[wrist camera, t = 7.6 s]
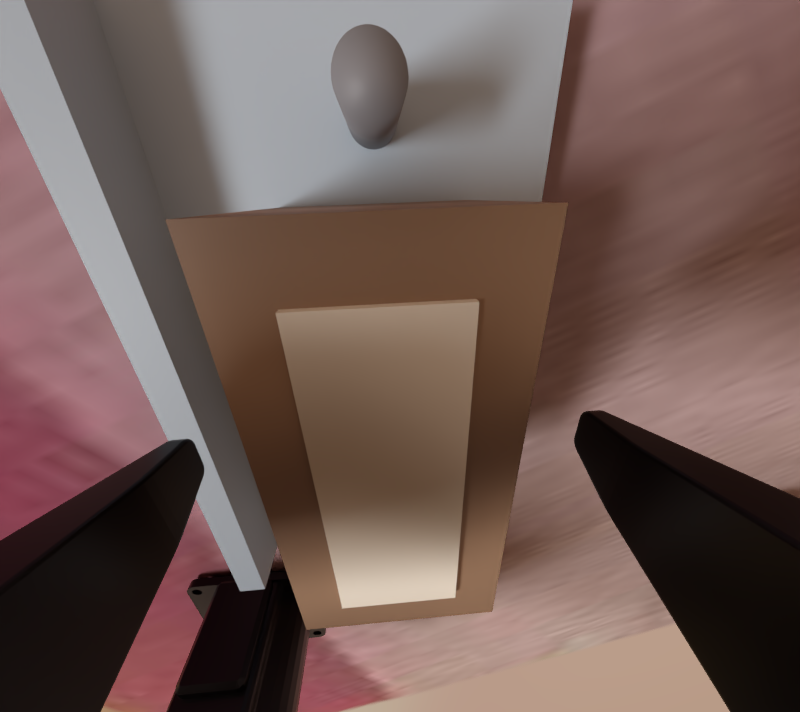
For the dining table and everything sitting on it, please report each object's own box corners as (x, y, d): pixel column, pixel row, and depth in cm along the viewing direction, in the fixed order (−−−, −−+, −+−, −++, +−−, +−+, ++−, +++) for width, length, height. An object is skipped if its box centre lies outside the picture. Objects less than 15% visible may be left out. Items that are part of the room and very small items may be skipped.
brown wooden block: (452, 469, 13) (493, 618, 8) (330, 479, 13) (305, 636, 8) (467, 199, 8) (575, 202, 4) (279, 207, 8) (156, 219, 4)
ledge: (483, 505, 16) (516, 599, 12) (263, 523, 15) (227, 627, 12) (547, 17, 8) (705, -150, 4) (87, 22, 7) (-217, -163, 4)
